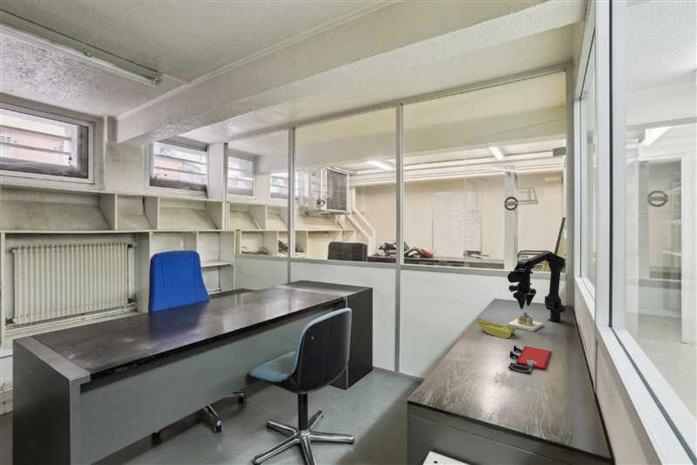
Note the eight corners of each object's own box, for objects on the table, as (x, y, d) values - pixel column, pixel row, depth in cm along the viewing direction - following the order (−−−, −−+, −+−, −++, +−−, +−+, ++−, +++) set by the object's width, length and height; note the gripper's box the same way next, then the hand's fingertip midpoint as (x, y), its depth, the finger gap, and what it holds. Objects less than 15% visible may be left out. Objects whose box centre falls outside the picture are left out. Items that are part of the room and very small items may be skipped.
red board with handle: (503, 368, 145) (542, 378, 136) (503, 362, 145) (542, 371, 136) (516, 347, 169) (551, 354, 160) (516, 341, 169) (551, 348, 160)
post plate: (518, 320, 209) (518, 307, 209) (542, 325, 199) (542, 311, 198) (507, 326, 200) (507, 312, 199) (532, 331, 189) (532, 317, 189)
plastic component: (516, 329, 187) (512, 325, 180) (513, 342, 186) (509, 339, 179) (481, 320, 201) (475, 316, 194) (478, 332, 199) (472, 329, 192)
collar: (522, 321, 203) (522, 314, 203) (532, 323, 199) (532, 316, 199) (517, 323, 199) (517, 316, 199) (528, 325, 195) (528, 318, 195)
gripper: (517, 277, 210) (517, 302, 211) (503, 281, 198) (504, 308, 199) (536, 279, 202) (536, 305, 202) (523, 284, 189) (523, 311, 190)
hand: (524, 307), depth 199 cm, fingers open, 9 cm apart
